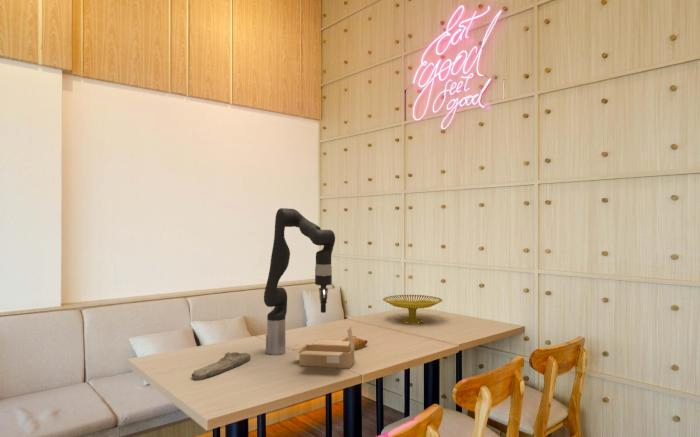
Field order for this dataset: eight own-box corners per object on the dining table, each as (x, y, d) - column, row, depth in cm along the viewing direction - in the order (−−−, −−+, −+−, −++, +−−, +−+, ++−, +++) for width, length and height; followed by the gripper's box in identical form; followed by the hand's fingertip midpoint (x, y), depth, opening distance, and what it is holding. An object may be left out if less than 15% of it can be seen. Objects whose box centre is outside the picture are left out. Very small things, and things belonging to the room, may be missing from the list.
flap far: (351, 351, 209) (347, 329, 210) (353, 346, 216) (349, 326, 217) (352, 350, 209) (348, 329, 210) (354, 346, 216) (350, 326, 217)
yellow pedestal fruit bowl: (371, 323, 302) (371, 300, 302) (400, 313, 334) (400, 292, 334) (426, 331, 278) (426, 306, 278) (452, 319, 311) (452, 297, 311)
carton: (290, 365, 211) (290, 350, 212) (302, 353, 231) (302, 339, 231) (350, 368, 207) (350, 352, 207) (356, 355, 227) (356, 341, 227)
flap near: (305, 350, 210) (299, 353, 200) (343, 352, 207) (339, 355, 197) (305, 351, 210) (299, 354, 200) (343, 353, 207) (339, 356, 197)
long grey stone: (185, 382, 195) (202, 387, 191) (185, 370, 195) (202, 374, 190) (239, 356, 226) (255, 359, 222) (239, 345, 226) (255, 349, 222)
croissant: (335, 359, 233) (338, 347, 230) (326, 346, 241) (329, 334, 237) (369, 352, 244) (373, 341, 240) (360, 340, 251) (364, 328, 248)
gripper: (314, 272, 210) (314, 309, 210) (315, 275, 197) (315, 315, 197) (330, 272, 211) (330, 309, 211) (332, 275, 198) (332, 315, 198)
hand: (323, 312), depth 204 cm, fingers closed
